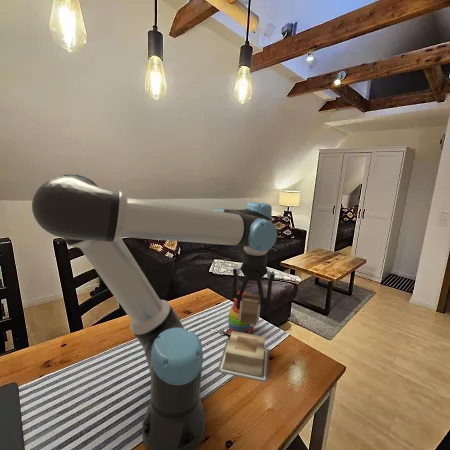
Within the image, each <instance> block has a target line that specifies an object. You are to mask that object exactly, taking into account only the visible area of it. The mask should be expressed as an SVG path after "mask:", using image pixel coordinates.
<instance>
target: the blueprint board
mask: <svg viewBox="0 0 450 450" xmlns="http://www.w3.org/2000/svg"><path fill="white" fill-rule="evenodd" d="M228 343H229V340H228V341H227V340H226V342H225V345H224V348H223V352H222V355H221V358H220V360H219V363H218V367H217V370H216V372H217V373H221V374H226V375H229V376H233V377H240V378H245V379H247V380H253V381H257V382H262V383H268V379H269V361H270V349H268V348H265V347H264V358H263V367H262V376H257V375H252V374H248V373H243V372H238V371H234V370H229V369H224V366H225V354H226V349H227V346H228Z"/></svg>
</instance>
